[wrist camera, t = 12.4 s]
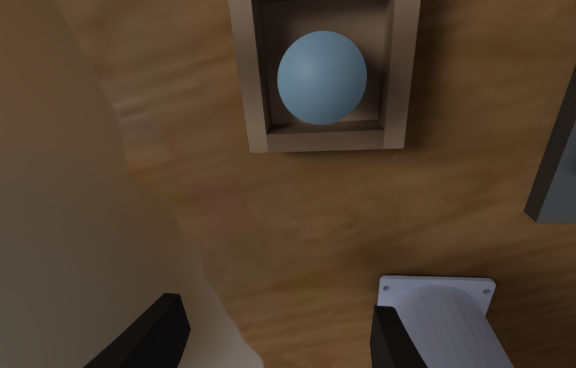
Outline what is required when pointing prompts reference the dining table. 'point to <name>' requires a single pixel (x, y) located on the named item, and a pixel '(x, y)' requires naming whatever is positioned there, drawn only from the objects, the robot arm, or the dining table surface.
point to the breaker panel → (557, 169)
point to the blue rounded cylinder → (322, 77)
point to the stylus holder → (353, 25)
